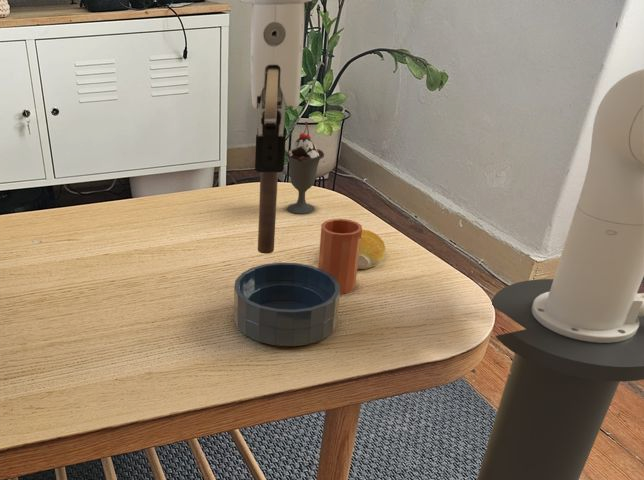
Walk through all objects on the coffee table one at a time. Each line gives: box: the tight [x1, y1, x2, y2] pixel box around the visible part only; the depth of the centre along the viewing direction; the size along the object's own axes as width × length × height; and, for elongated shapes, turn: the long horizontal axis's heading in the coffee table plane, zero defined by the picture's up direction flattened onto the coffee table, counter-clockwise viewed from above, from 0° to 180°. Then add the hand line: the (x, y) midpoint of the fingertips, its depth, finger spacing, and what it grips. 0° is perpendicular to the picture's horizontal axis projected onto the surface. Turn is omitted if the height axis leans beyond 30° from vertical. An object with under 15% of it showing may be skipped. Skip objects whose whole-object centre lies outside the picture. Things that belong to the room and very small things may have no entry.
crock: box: [317, 218, 363, 295], centre depth 90 cm, size 5×6×9 cm
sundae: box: [285, 121, 325, 215], centre depth 113 cm, size 7×7×15 cm
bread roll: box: [357, 229, 386, 270], centre depth 99 cm, size 8×9×4 cm
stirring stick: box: [257, 133, 279, 255], centre depth 75 cm, size 2×2×16 cm
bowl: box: [233, 262, 341, 347], centre depth 84 cm, size 13×13×6 cm
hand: (269, 166), depth 74 cm, fingers closed on stirring stick, 2 cm apart
